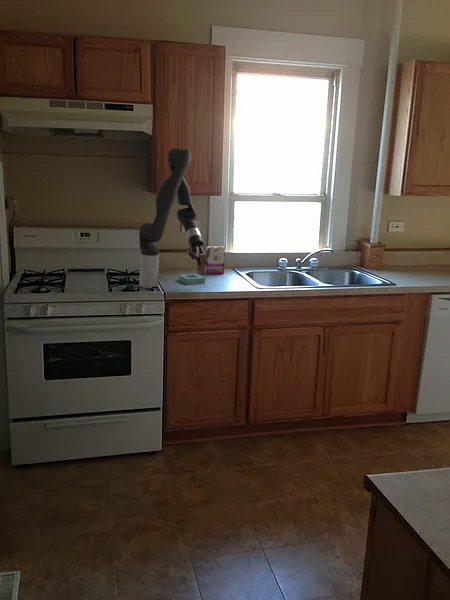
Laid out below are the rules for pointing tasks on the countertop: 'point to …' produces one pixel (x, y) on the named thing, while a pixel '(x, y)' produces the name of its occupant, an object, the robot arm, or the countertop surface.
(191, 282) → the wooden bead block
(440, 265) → the countertop surface
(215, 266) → the candy bar box
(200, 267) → the tall brown block
